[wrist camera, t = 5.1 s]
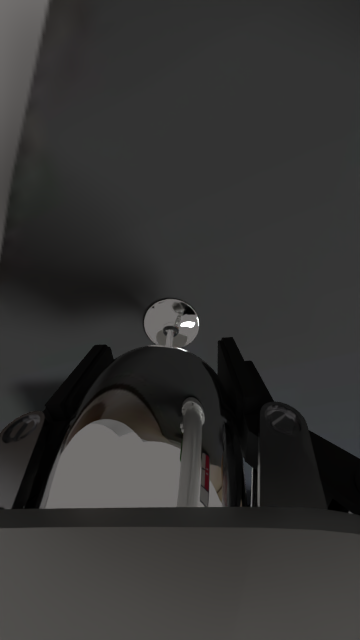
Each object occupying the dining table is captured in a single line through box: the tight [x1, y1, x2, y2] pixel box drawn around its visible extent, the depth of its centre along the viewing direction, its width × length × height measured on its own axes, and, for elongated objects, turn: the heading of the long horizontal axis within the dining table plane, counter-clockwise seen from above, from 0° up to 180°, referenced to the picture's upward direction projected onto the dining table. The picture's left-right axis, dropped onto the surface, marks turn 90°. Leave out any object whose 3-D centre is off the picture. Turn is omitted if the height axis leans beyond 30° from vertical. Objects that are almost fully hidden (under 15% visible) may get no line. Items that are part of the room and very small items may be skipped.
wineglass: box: [34, 299, 247, 509], centre depth 9 cm, size 6×6×12 cm
